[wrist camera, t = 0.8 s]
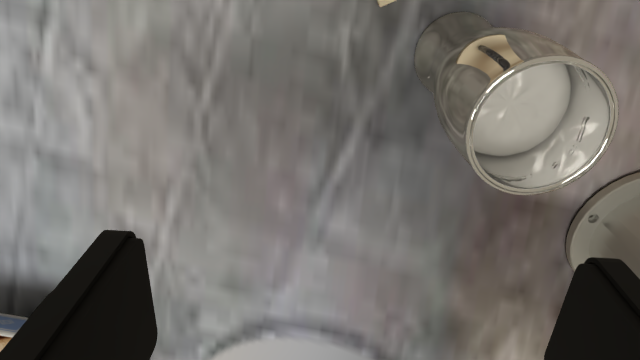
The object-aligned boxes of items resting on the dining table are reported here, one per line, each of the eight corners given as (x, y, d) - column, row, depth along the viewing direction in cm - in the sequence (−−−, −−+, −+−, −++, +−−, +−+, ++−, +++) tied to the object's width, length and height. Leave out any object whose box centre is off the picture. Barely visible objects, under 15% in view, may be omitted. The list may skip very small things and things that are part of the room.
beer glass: (443, -15, 31) (531, 18, 18) (524, 35, 33) (660, 99, 19) (389, 74, 34) (430, 160, 21) (466, 116, 36) (549, 222, 22)
